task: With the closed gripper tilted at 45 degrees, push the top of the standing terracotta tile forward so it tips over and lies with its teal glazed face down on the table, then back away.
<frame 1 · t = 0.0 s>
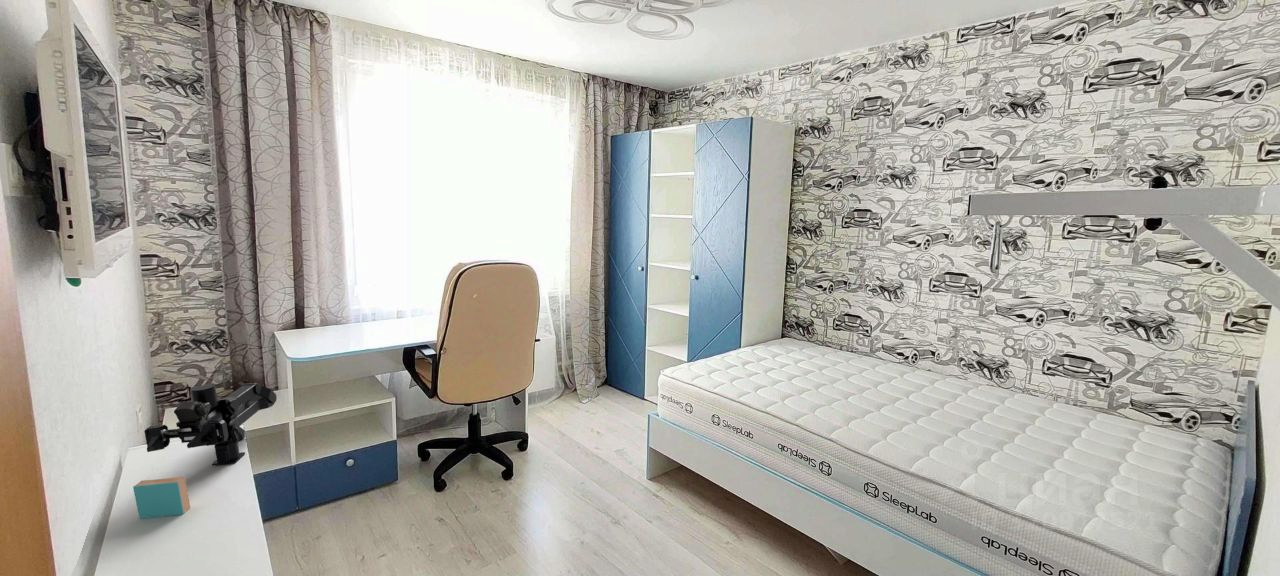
hand: (167, 448, 141), 16 cm above the table, tool horizontal, fingers open, 9 cm apart
tile: (165, 513, 140), on the table
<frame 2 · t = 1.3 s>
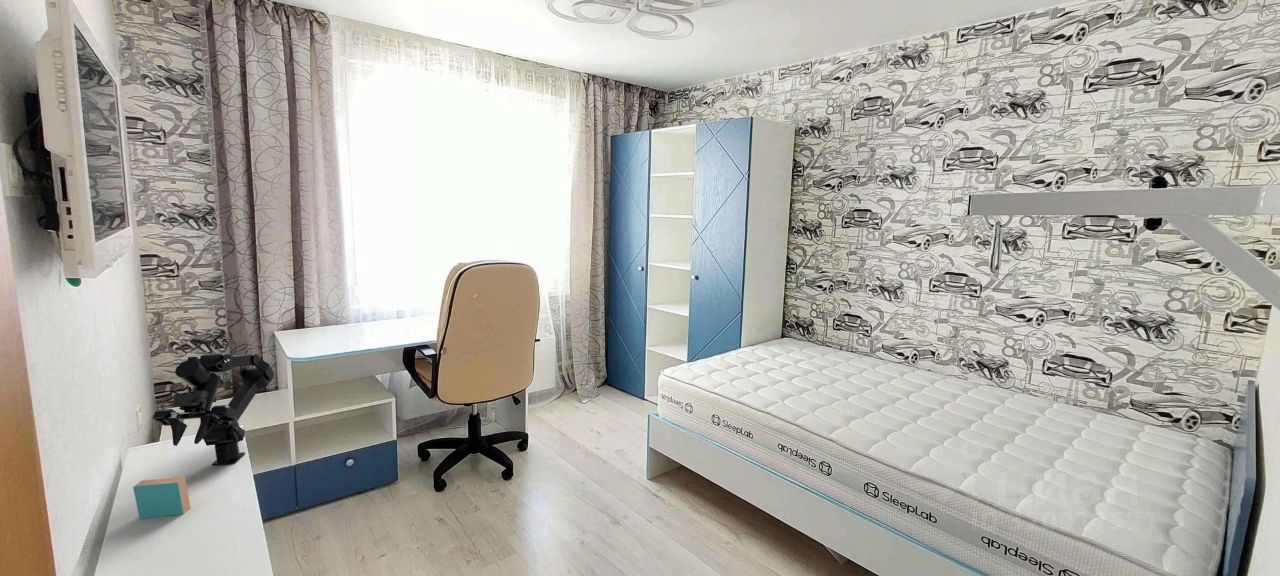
hand: (185, 444, 149), 14 cm above the table, tool tilted 45°, fingers open, 5 cm apart
nothing on the table moved.
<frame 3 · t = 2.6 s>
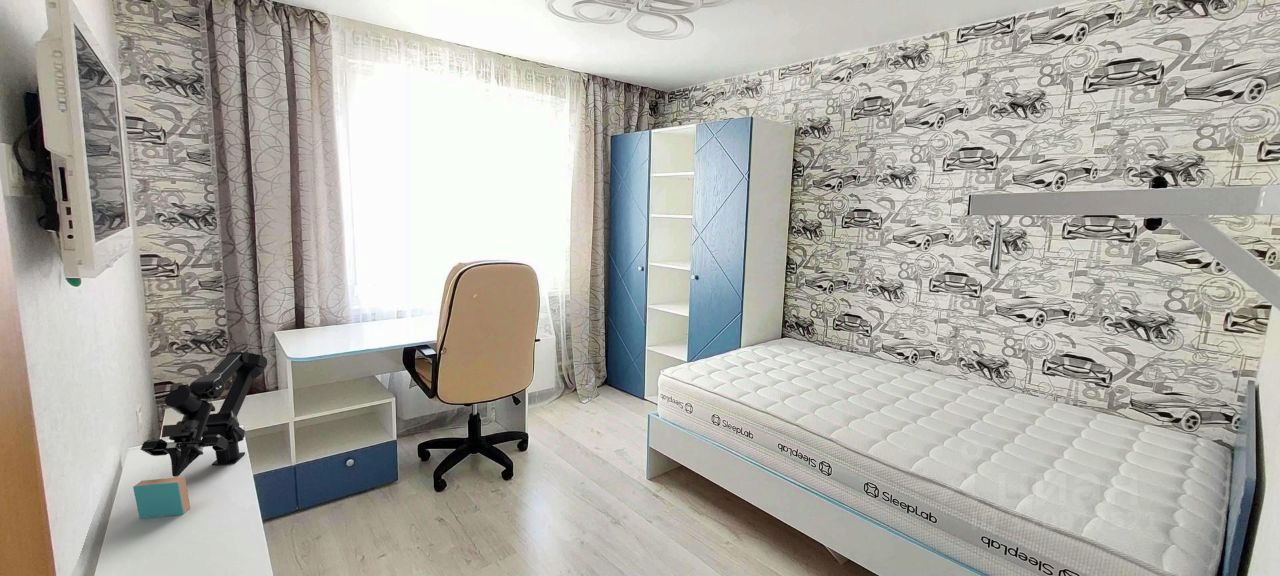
hand: (175, 476, 144), 7 cm above the table, tool tilted 45°, fingers closed
nothing on the table moved.
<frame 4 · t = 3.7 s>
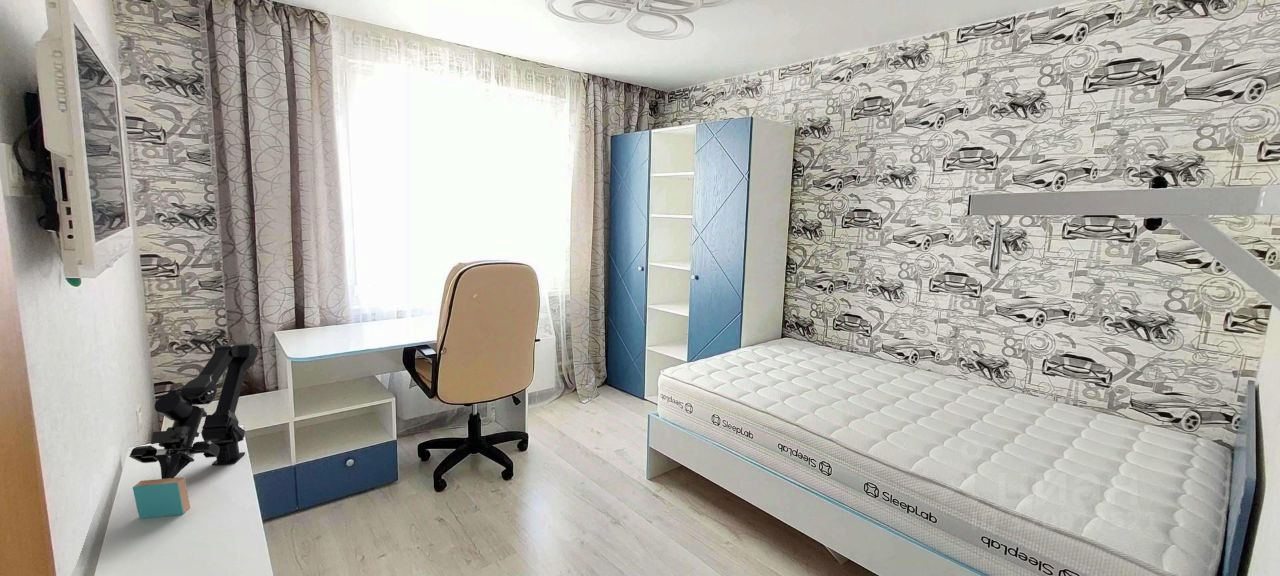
hand: (164, 484, 140), 7 cm above the table, tool tilted 45°, fingers closed, pressing on tile
tile: (165, 513, 140), on the table, touching gripper
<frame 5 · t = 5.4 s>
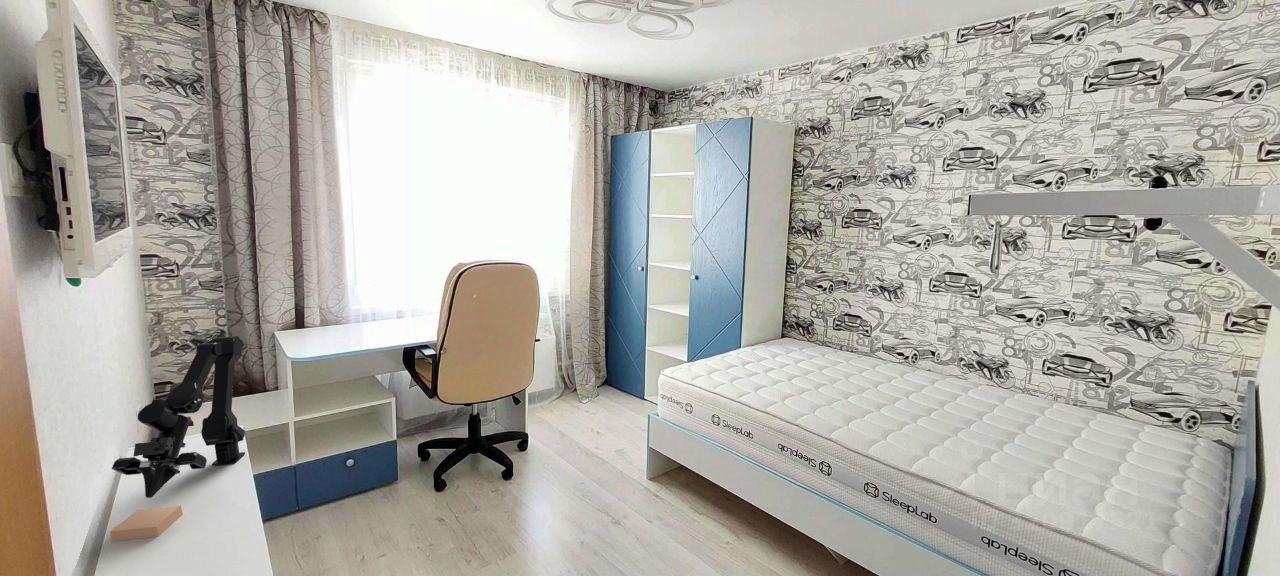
hand: (148, 497, 135), 7 cm above the table, tool tilted 45°, fingers closed
tile: (160, 512, 139), point 1 cm above the table, tilted 90°
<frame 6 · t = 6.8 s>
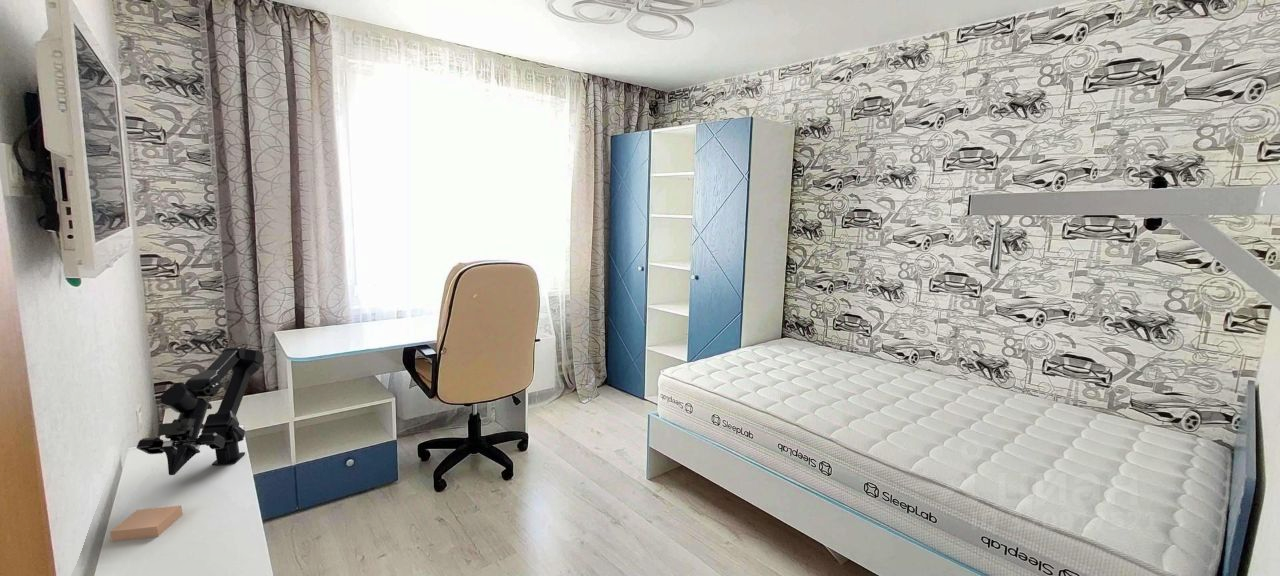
hand: (171, 474, 143), 8 cm above the table, tool tilted 45°, fingers closed
nothing on the table moved.
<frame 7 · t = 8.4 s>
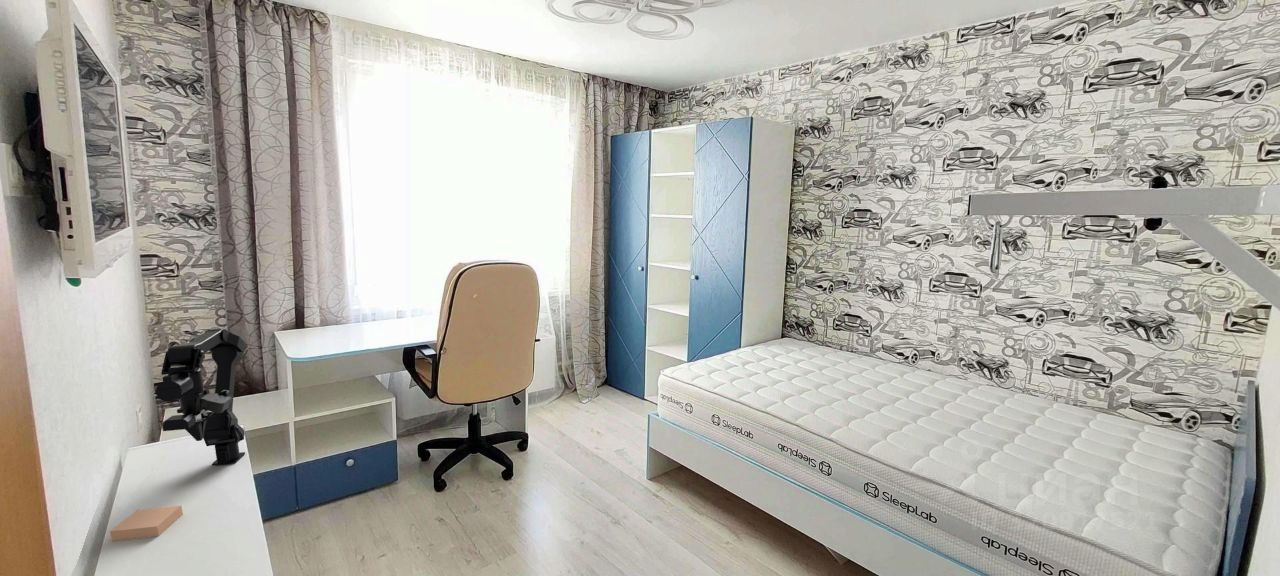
hand: (199, 440, 153), 13 cm above the table, tool pointing down, fingers closed
nothing on the table moved.
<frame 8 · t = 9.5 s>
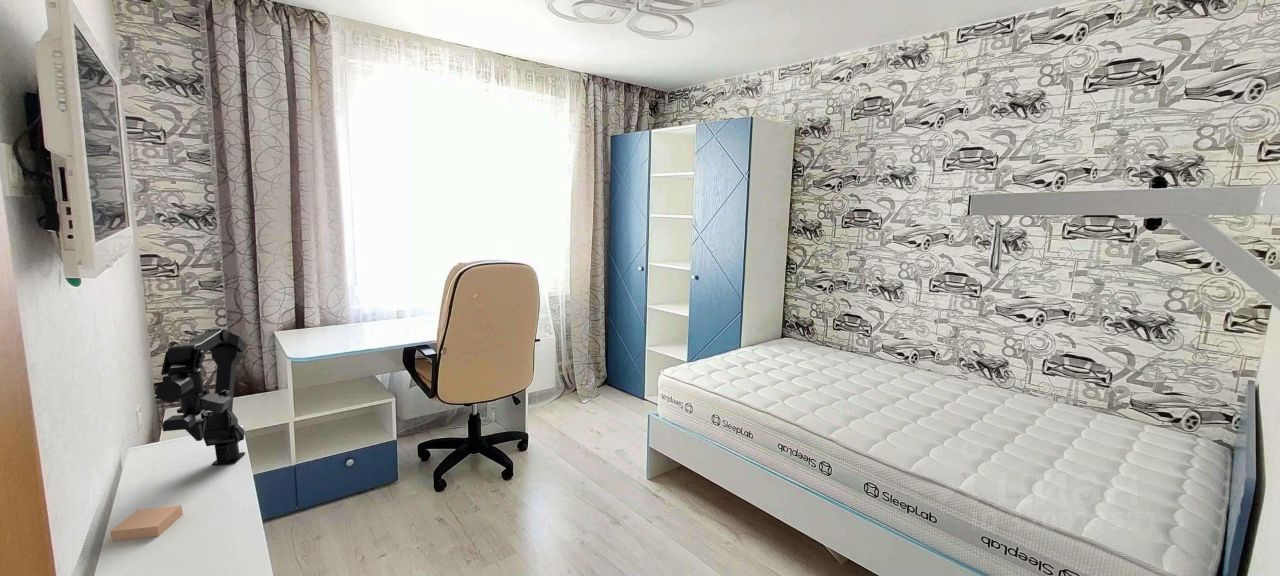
hand: (199, 440, 153), 13 cm above the table, tool pointing down, fingers closed
nothing on the table moved.
at the end: tile tilted 90°; tile inside the target area (5.1 cm from its centre), point 1.0 cm above the table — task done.
